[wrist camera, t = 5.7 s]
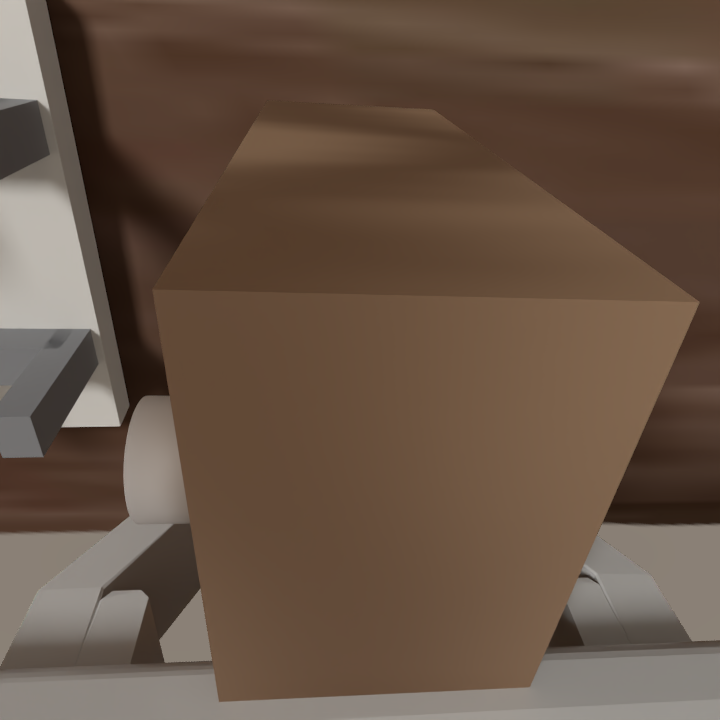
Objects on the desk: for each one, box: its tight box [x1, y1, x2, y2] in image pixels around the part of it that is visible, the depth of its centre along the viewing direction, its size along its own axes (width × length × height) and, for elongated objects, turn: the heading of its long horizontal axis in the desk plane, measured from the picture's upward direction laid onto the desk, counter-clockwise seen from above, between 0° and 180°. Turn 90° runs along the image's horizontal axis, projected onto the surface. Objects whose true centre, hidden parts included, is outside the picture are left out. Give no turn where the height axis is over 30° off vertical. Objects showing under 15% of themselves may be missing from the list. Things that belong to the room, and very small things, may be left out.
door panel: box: [124, 100, 700, 702], centre depth 9 cm, size 4×12×8 cm, turn 177°
